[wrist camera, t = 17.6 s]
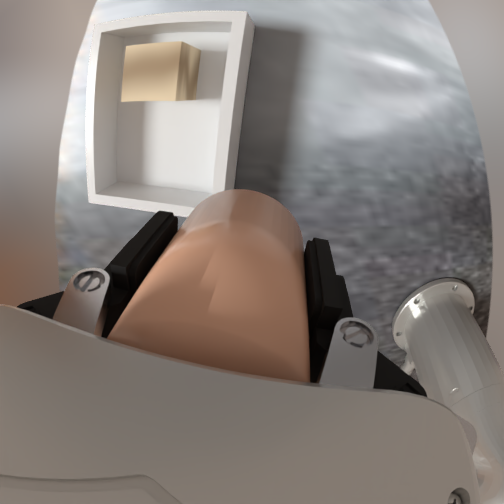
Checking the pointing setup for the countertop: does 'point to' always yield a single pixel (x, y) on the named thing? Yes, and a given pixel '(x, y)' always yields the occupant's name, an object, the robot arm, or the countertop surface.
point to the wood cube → (160, 72)
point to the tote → (167, 114)
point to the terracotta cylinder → (227, 291)
